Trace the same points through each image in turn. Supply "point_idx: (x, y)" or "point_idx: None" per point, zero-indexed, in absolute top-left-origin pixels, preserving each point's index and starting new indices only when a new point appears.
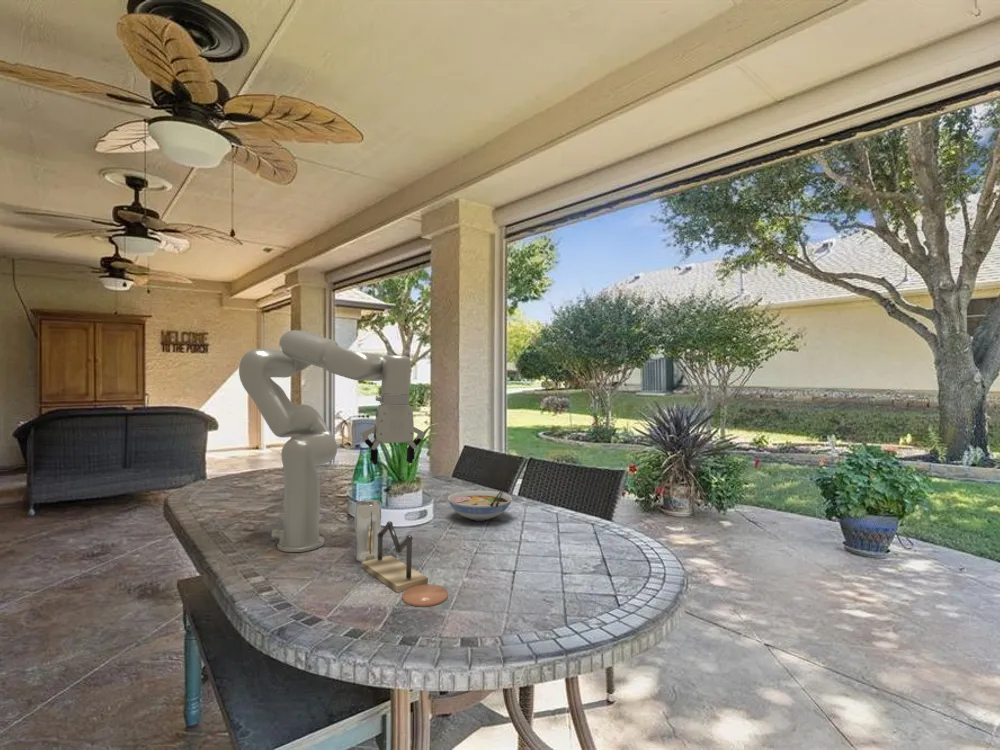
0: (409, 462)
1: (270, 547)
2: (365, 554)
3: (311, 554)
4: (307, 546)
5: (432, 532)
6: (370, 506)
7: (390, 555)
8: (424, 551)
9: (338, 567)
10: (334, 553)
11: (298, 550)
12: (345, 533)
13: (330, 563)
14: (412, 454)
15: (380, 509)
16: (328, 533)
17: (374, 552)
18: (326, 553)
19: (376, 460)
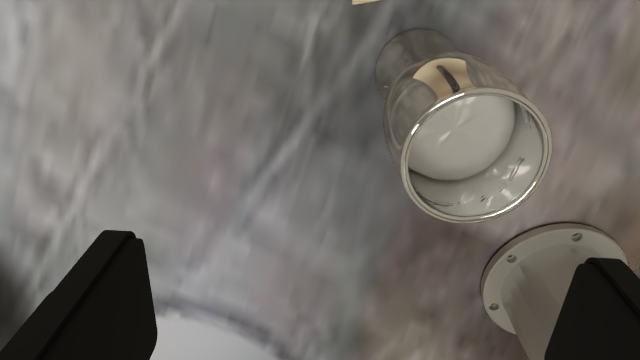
0: (142, 244)
1: None
2: (443, 42)
3: (557, 193)
4: (561, 237)
5: (120, 225)
6: (493, 87)
7: (353, 2)
8: (198, 45)
9: (539, 29)
10: None
11: (588, 227)
12: (392, 324)
13: (544, 83)
14: (45, 304)
15: (408, 107)
16: (437, 342)
17: (406, 44)
18: None
19: (625, 288)
